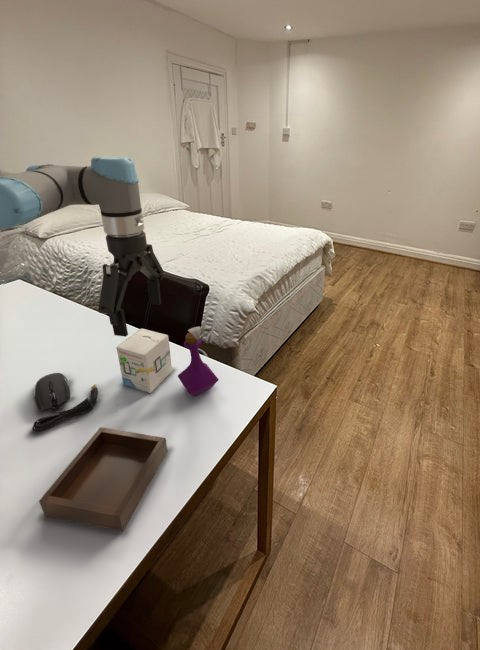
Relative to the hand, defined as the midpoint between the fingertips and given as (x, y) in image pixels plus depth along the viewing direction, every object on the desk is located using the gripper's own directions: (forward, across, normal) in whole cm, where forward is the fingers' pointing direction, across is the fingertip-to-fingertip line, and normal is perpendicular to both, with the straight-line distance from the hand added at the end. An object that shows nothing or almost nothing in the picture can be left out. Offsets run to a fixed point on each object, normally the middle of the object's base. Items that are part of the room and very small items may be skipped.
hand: (139, 318), depth 76 cm
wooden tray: (+18, -25, -8) cm, 32 cm away
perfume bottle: (+18, -1, -14) cm, 23 cm away
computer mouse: (+18, -9, +15) cm, 25 cm away
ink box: (+18, 0, 0) cm, 18 cm away
